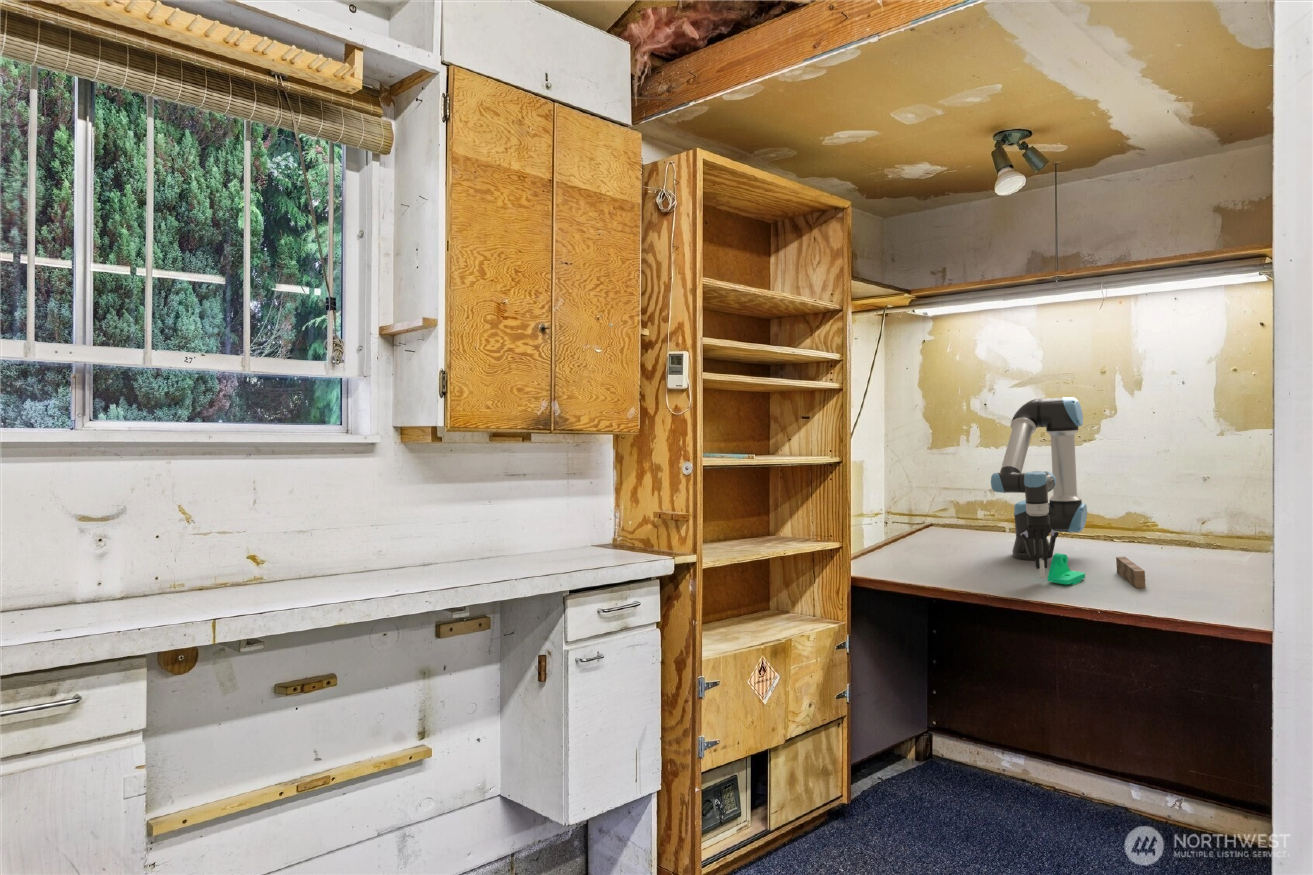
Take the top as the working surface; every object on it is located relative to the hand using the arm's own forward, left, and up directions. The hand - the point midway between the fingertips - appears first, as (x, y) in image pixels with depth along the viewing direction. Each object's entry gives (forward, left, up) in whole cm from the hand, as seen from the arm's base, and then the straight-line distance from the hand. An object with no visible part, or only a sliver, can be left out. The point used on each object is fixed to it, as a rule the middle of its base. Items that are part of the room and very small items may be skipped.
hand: (1042, 576), depth 305 cm
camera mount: (-1, +9, -3) cm, 9 cm away
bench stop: (+1, +29, -2) cm, 29 cm away
